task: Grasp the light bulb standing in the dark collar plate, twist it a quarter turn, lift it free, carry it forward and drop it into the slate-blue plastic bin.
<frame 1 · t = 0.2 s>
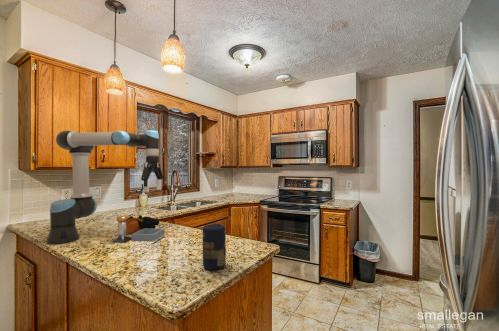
hand: (152, 190, 152), 27 cm above the counter, fingers open, 13 cm apart
collar plate: (122, 242, 138), on the counter
tool: (141, 234, 157), on the counter
bin: (148, 240, 142), on the counter
canister: (214, 267, 103), on the counter
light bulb: (122, 240, 138), point 1 cm above the counter, touching collar plate
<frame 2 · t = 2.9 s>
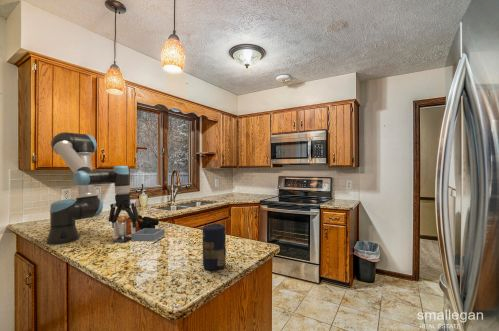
hand: (124, 233, 138), 5 cm above the counter, fingers open, 9 cm apart
nothing on the counter moved.
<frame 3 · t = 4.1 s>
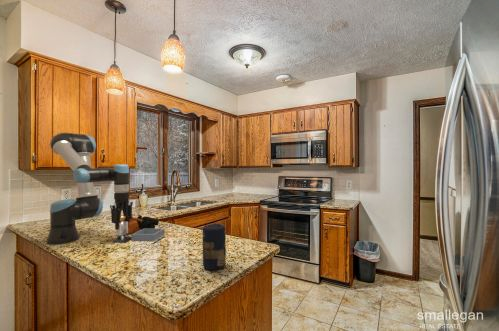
hand: (122, 233, 138), 5 cm above the counter, fingers closed on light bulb, 4 cm apart
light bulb: (121, 239, 138), point 2 cm above the counter, touching collar plate, gripper
everything else where it was.
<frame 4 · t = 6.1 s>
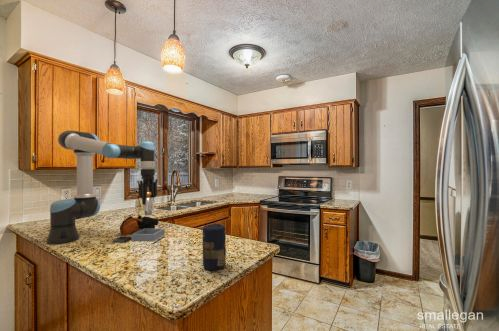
hand: (148, 209, 142), 18 cm above the counter, fingers closed on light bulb, 4 cm apart
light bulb: (148, 214, 142), point 15 cm above the counter, tilted 5°, touching gripper
everything else where it was.
when the fingers open (5 cm above the counter, at t = 8.5 s): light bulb stays where it is, resting on bin.
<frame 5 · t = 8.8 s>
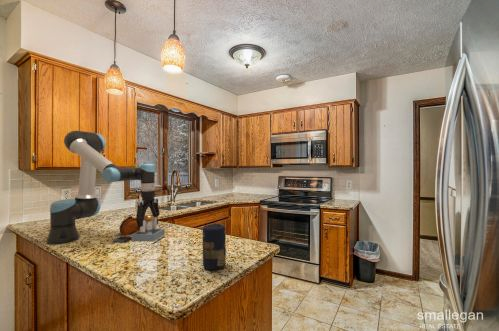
hand: (148, 230, 142), 6 cm above the counter, fingers open, 8 cm apart
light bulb: (148, 238, 142), point 1 cm above the counter, touching bin
everything else where it was.
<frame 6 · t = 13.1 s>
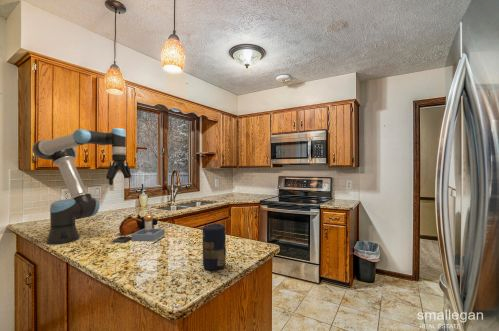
hand: (119, 189, 149), 29 cm above the counter, fingers open, 13 cm apart
at the end: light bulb inside the target area on the bin (0.1 cm from its centre), point 1.0 cm above the bin's base; the gripper is holding nothing; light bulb touching bin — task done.
